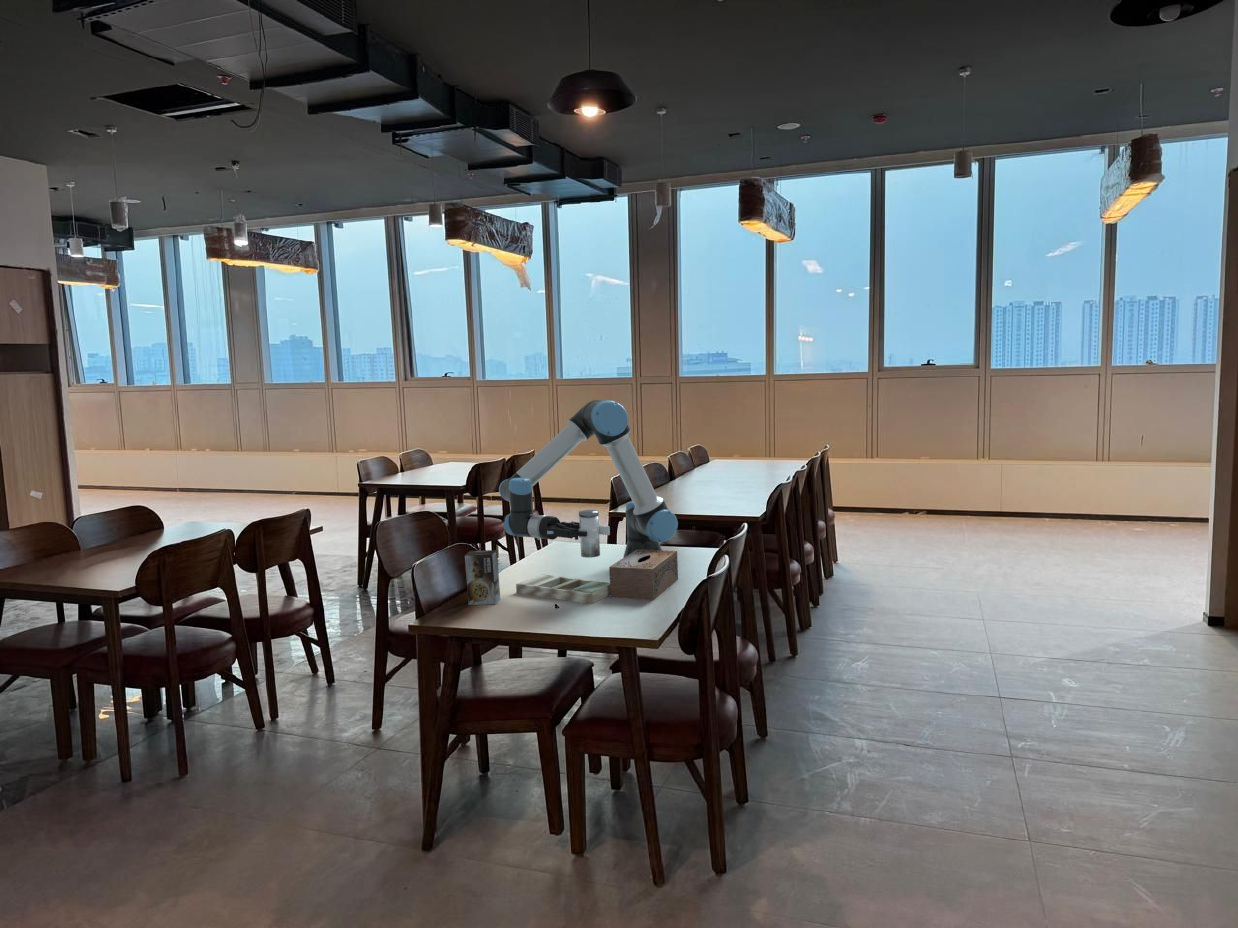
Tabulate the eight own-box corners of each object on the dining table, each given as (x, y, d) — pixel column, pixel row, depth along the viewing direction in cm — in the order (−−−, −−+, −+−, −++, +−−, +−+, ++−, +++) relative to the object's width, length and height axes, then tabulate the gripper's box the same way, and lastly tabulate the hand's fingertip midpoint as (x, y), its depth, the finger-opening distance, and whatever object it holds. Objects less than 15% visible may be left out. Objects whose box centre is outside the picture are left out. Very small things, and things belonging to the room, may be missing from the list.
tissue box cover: (637, 577, 282) (636, 549, 281) (678, 579, 277) (677, 550, 276) (610, 598, 258) (609, 567, 257) (654, 600, 253) (652, 569, 252)
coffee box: (501, 599, 262) (498, 549, 260) (496, 604, 256) (492, 554, 254) (473, 599, 263) (469, 550, 261) (467, 605, 256) (464, 554, 255)
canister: (600, 552, 261) (599, 509, 260) (599, 557, 255) (597, 512, 254) (581, 553, 262) (579, 510, 260) (579, 557, 255) (577, 513, 254)
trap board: (516, 592, 269) (515, 582, 268) (543, 582, 280) (543, 573, 280) (590, 603, 252) (589, 592, 252) (616, 592, 263) (615, 582, 263)
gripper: (563, 533, 276) (620, 538, 263) (526, 544, 260) (585, 550, 247) (562, 511, 275) (619, 515, 262) (525, 520, 259) (584, 525, 246)
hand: (602, 532), depth 255 cm, fingers closed on canister, 6 cm apart
